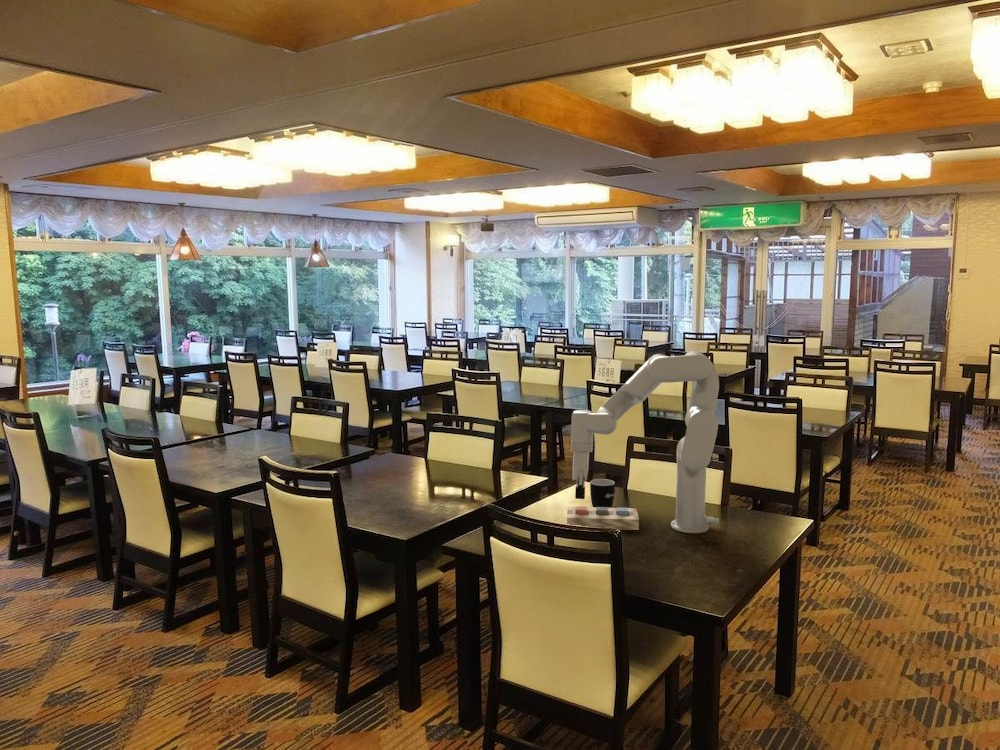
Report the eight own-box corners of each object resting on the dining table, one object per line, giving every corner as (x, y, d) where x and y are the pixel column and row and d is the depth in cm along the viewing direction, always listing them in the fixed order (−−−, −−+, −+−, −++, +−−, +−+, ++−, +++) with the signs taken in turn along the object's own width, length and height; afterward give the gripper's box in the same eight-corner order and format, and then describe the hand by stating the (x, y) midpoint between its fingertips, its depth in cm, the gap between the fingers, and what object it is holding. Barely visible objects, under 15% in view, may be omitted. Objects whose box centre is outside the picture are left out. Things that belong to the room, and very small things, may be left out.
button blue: (627, 515, 250) (627, 507, 250) (628, 518, 247) (628, 510, 246) (617, 515, 251) (617, 507, 250) (617, 518, 247) (617, 510, 247)
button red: (586, 514, 252) (587, 506, 251) (587, 517, 248) (587, 509, 248) (576, 514, 252) (576, 506, 252) (576, 517, 248) (576, 509, 248)
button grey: (607, 514, 251) (607, 507, 251) (607, 518, 247) (607, 510, 247) (596, 514, 251) (596, 506, 251) (597, 518, 248) (597, 510, 247)
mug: (605, 514, 260) (605, 487, 259) (585, 509, 266) (585, 482, 265) (624, 506, 268) (624, 480, 267) (604, 501, 275) (604, 475, 273)
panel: (635, 519, 254) (636, 508, 254) (638, 531, 242) (638, 519, 242) (567, 517, 257) (567, 506, 256) (566, 528, 245) (567, 517, 245)
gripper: (570, 440, 255) (569, 491, 257) (570, 450, 240) (568, 504, 242) (592, 441, 254) (590, 492, 256) (593, 451, 239) (591, 505, 242)
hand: (579, 498), depth 249 cm, fingers closed
